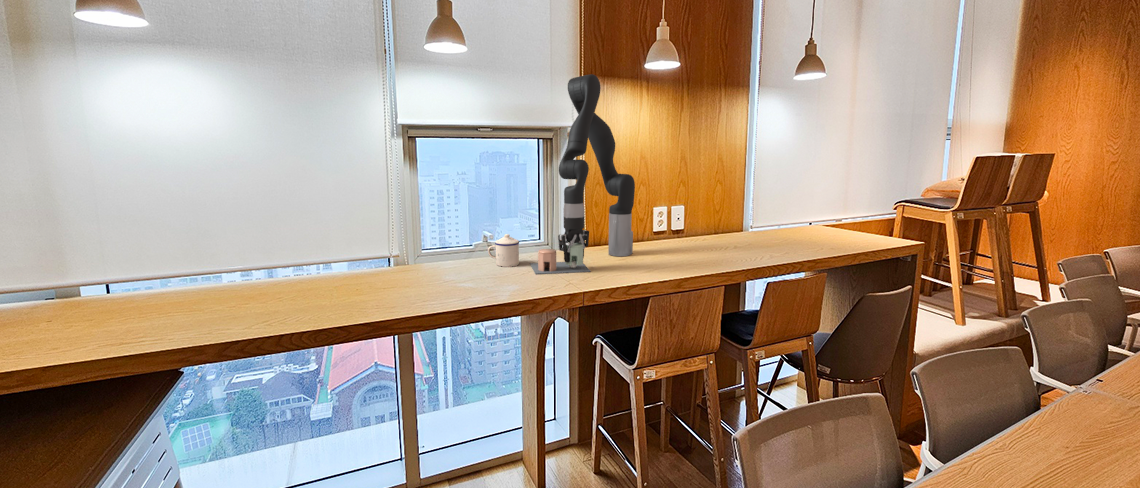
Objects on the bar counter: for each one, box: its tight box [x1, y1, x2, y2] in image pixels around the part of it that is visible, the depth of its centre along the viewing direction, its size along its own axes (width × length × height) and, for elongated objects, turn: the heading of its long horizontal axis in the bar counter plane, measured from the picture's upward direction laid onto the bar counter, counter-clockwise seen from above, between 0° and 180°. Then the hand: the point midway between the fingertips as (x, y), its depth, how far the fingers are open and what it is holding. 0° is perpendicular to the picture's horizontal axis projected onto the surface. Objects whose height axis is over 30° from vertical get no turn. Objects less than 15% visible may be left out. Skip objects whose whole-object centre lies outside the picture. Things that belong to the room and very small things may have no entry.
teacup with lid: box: [487, 233, 520, 268], centre depth 208 cm, size 12×9×12 cm
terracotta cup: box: [537, 248, 557, 272], centre depth 199 cm, size 6×6×7 cm
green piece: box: [564, 243, 584, 265], centre depth 201 cm, size 6×6×7 cm
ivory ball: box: [569, 260, 577, 268], centre depth 201 cm, size 3×3×3 cm
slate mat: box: [529, 261, 592, 275], centre depth 204 cm, size 20×16×1 cm
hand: (574, 260), depth 201 cm, fingers closed on green piece, 6 cm apart
